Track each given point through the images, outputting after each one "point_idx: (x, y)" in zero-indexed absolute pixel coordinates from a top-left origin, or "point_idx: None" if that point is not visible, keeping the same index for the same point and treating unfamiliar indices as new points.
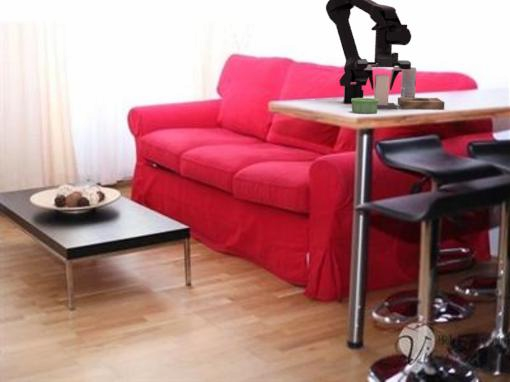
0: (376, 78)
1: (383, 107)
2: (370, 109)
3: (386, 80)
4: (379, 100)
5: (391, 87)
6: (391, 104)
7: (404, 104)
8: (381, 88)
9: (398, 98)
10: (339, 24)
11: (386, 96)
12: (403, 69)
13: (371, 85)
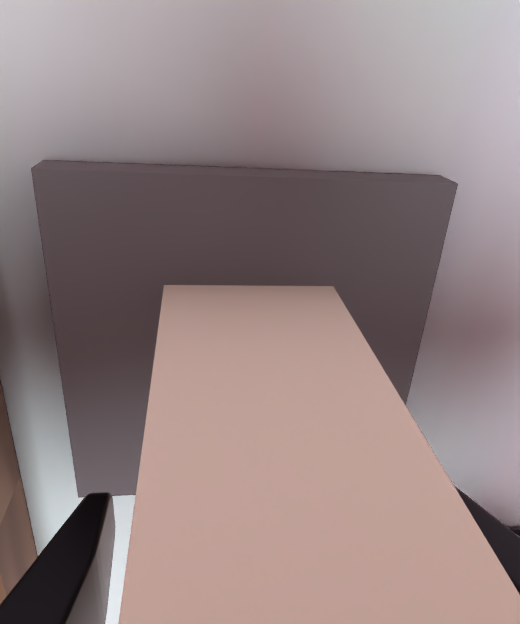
0: None
1: (239, 170)
2: None
3: (208, 608)
4: (290, 312)
5: (75, 524)
6: (111, 347)
7: None
8: (304, 429)
9: (9, 592)
10: None
11: (188, 345)
12: None
13: (503, 527)
